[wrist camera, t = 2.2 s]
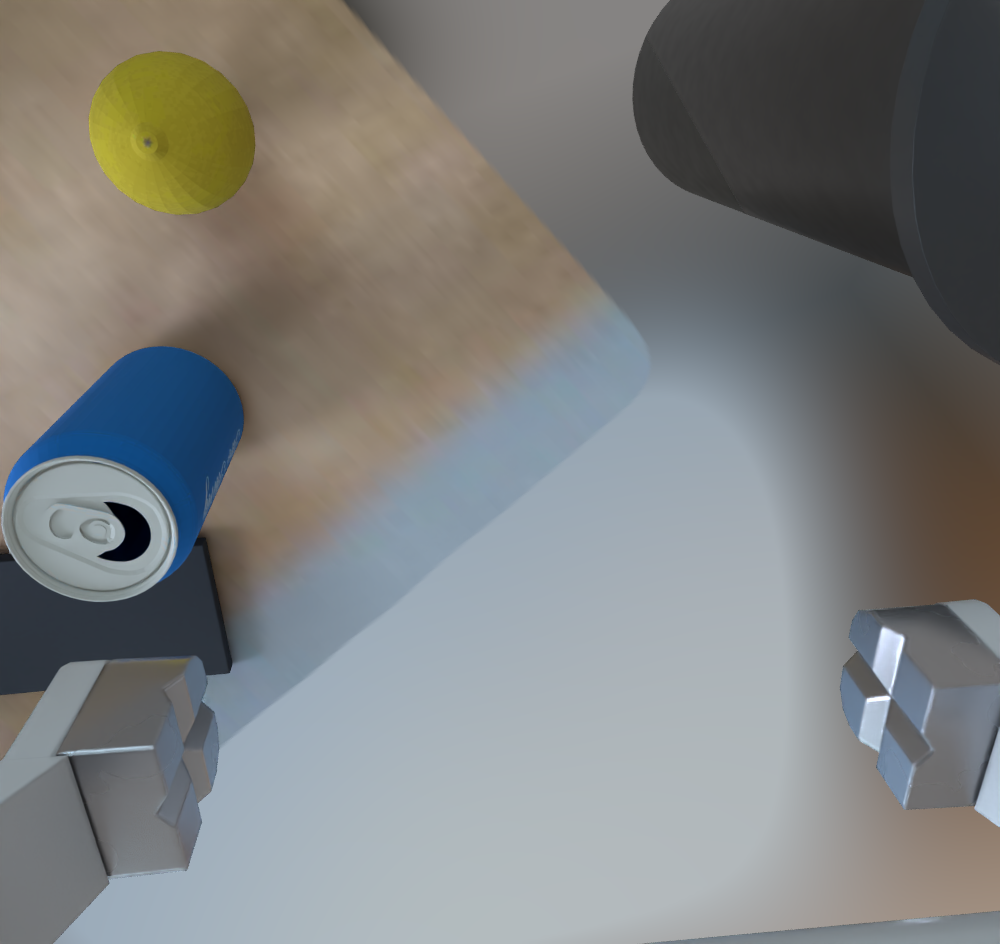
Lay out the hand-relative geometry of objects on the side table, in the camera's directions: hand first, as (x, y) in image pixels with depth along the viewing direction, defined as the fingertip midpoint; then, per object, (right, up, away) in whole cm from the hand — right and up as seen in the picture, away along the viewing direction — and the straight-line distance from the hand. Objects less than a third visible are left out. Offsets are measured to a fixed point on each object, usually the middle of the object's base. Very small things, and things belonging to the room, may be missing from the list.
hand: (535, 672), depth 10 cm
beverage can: (-16, +6, +29) cm, 33 cm away
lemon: (-13, +17, +24) cm, 32 cm away
